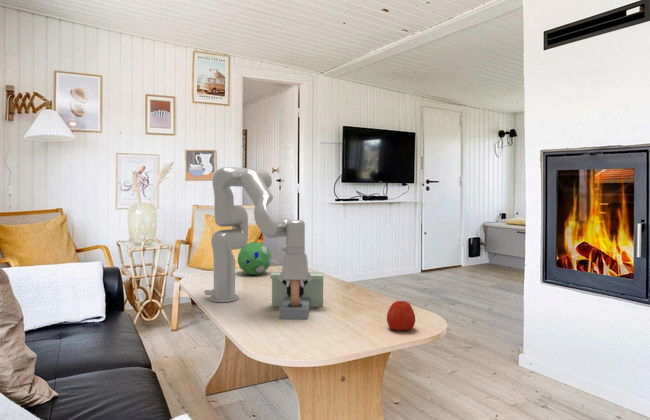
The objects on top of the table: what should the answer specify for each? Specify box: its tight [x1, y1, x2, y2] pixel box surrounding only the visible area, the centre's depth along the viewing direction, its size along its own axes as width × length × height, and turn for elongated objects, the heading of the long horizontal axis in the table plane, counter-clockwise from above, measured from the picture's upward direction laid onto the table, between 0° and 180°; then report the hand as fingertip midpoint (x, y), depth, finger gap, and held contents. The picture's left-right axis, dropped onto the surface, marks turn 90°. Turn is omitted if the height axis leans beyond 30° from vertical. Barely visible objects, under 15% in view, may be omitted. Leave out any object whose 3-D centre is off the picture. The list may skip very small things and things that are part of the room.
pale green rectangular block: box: [269, 271, 324, 308], centre depth 186 cm, size 22×7×14 cm, turn 89°
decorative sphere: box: [237, 241, 272, 276], centre depth 255 cm, size 19×20×20 cm
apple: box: [386, 300, 416, 332], centre depth 159 cm, size 10×10×10 cm
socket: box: [278, 297, 311, 320], centre depth 178 cm, size 11×18×4 cm, turn 179°
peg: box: [290, 280, 300, 307], centre depth 174 cm, size 4×4×12 cm
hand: (295, 296), depth 175 cm, fingers closed on peg, 4 cm apart
